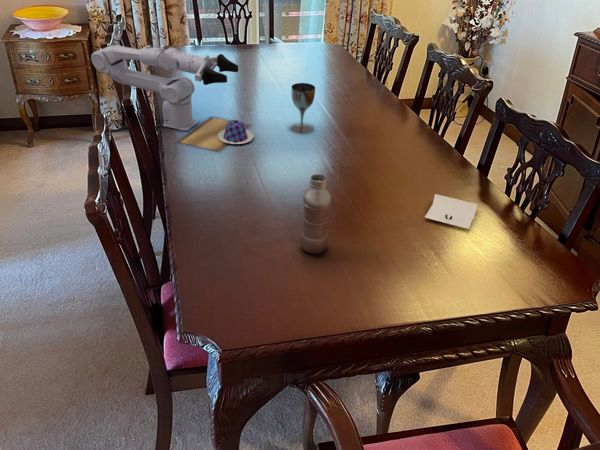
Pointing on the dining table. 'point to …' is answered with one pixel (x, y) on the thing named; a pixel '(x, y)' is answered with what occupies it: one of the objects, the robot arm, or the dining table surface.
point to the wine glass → (302, 103)
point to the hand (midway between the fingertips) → (232, 73)
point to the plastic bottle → (315, 215)
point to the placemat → (207, 135)
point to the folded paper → (452, 211)
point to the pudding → (235, 133)
